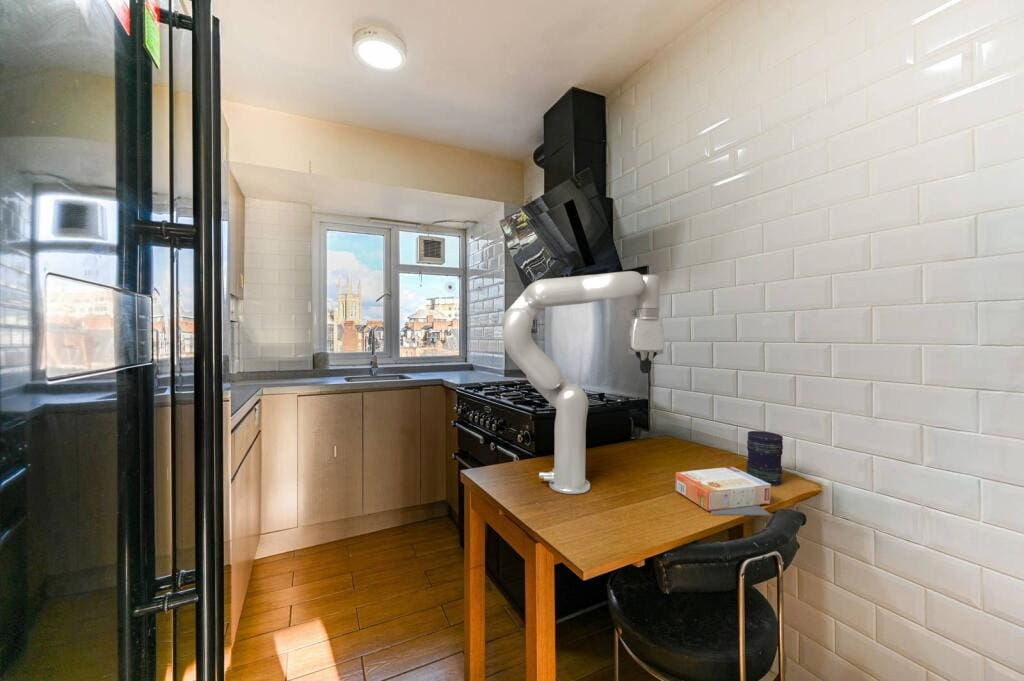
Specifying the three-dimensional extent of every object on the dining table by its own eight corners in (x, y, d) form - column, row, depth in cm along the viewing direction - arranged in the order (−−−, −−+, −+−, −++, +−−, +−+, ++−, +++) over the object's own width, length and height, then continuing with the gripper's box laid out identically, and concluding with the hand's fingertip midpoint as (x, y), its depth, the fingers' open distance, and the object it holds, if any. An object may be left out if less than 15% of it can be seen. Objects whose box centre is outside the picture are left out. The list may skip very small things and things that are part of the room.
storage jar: (743, 473, 137) (744, 429, 136) (776, 477, 134) (778, 432, 133) (749, 483, 127) (751, 437, 127) (786, 488, 124) (787, 440, 124)
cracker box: (707, 513, 107) (771, 504, 112) (707, 490, 106) (772, 483, 111) (674, 491, 120) (733, 484, 125) (674, 471, 120) (733, 465, 125)
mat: (713, 514, 106) (713, 513, 106) (690, 493, 120) (690, 491, 120) (770, 515, 106) (770, 514, 106) (740, 493, 120) (740, 492, 120)
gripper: (625, 314, 123) (624, 373, 123) (674, 314, 122) (673, 374, 123) (619, 314, 130) (618, 371, 131) (665, 315, 130) (664, 371, 130)
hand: (645, 372), depth 127 cm, fingers closed
